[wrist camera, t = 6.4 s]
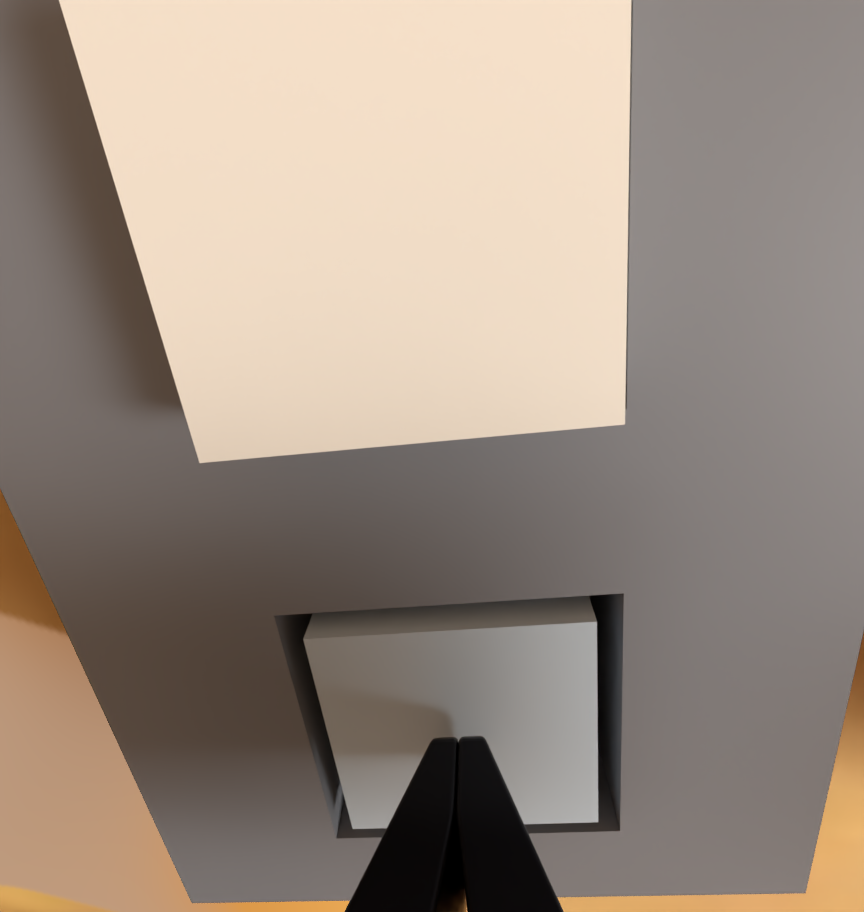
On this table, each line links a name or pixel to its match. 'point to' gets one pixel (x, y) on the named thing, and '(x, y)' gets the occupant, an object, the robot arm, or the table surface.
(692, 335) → the keypad
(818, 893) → the table surface
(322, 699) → the bluegrey key
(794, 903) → the table surface
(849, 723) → the table surface
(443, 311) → the cream key
